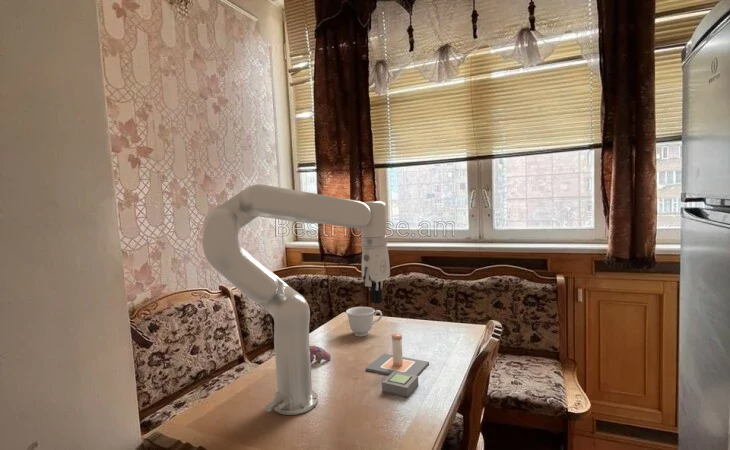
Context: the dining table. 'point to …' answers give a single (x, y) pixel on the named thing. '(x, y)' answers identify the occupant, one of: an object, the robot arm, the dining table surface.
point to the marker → (397, 349)
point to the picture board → (386, 367)
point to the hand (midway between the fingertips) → (376, 302)
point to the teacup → (362, 319)
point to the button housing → (400, 385)
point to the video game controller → (319, 354)
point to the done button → (400, 379)
